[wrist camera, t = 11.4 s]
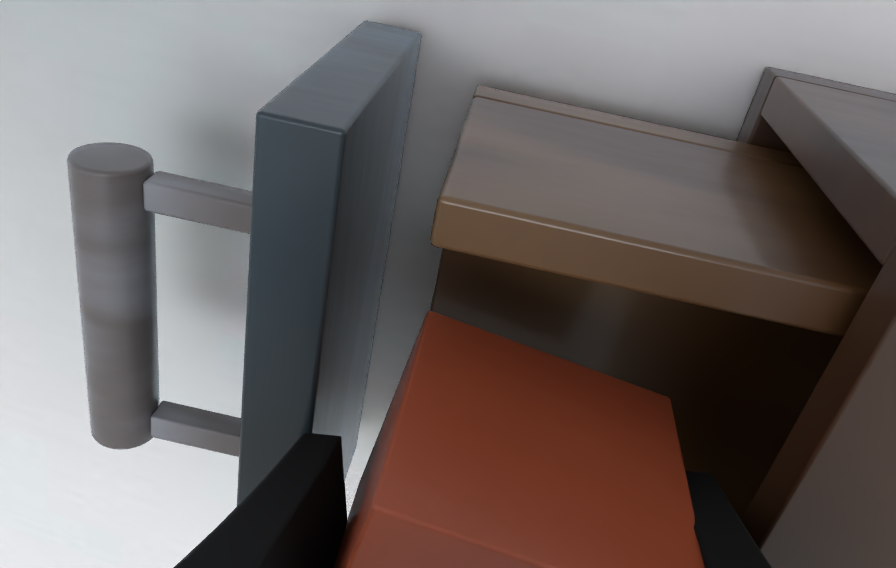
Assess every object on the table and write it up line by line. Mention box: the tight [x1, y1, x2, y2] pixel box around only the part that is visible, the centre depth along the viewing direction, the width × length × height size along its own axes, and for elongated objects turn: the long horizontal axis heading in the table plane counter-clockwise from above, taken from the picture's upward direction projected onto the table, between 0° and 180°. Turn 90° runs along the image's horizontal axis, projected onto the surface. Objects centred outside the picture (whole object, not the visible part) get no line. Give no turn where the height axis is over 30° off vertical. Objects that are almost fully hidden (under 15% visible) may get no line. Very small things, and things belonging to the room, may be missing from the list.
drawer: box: [67, 21, 883, 520], centre depth 15 cm, size 18×11×6 cm, turn 80°
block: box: [334, 311, 705, 568], centre depth 12 cm, size 4×4×4 cm
